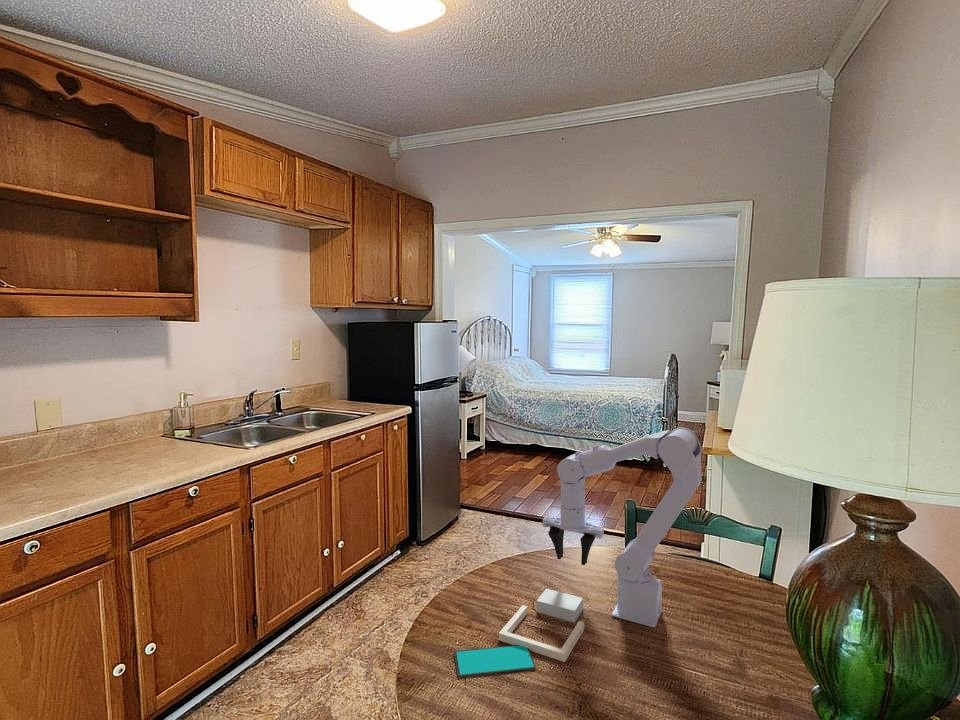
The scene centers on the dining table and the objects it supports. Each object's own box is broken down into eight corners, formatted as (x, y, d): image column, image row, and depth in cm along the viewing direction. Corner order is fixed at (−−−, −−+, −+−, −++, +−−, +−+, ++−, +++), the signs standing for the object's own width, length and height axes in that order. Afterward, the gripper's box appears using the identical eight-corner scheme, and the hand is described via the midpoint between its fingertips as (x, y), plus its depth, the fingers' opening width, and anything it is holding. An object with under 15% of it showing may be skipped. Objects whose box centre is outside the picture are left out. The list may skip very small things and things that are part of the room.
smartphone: (453, 651, 106) (527, 644, 108) (453, 655, 106) (527, 647, 108) (457, 676, 99) (536, 667, 101) (457, 680, 99) (536, 672, 101)
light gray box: (583, 610, 122) (583, 598, 121) (574, 624, 116) (574, 610, 116) (546, 600, 126) (546, 588, 126) (536, 613, 121) (536, 600, 120)
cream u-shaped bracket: (584, 629, 114) (584, 622, 113) (564, 662, 103) (564, 654, 103) (522, 611, 121) (522, 604, 120) (498, 640, 110) (498, 632, 110)
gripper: (607, 505, 126) (606, 560, 127) (550, 495, 133) (549, 547, 134) (598, 515, 120) (598, 573, 121) (539, 504, 127) (539, 558, 128)
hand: (572, 560), depth 127 cm, fingers open, 5 cm apart
